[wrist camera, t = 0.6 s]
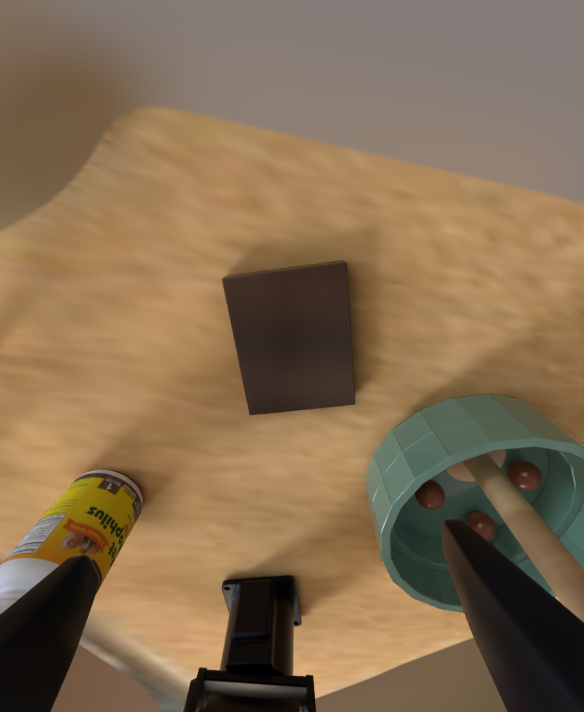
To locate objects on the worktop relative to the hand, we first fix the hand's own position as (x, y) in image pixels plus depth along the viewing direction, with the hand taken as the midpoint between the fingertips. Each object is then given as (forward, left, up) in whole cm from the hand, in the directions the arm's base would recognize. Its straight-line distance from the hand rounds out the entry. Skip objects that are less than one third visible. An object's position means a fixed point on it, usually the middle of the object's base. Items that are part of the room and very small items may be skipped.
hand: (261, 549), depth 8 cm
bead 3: (-10, -15, -12) cm, 22 cm away
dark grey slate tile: (+1, -1, -14) cm, 14 cm away
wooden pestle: (-8, -12, -13) cm, 19 cm away
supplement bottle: (-10, +15, -14) cm, 23 cm away
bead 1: (-11, -9, -12) cm, 19 cm away
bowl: (-11, -12, -14) cm, 21 cm away
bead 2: (-15, -13, -12) cm, 23 cm away
